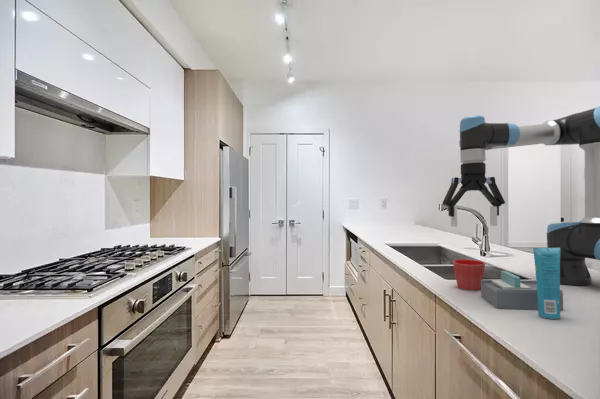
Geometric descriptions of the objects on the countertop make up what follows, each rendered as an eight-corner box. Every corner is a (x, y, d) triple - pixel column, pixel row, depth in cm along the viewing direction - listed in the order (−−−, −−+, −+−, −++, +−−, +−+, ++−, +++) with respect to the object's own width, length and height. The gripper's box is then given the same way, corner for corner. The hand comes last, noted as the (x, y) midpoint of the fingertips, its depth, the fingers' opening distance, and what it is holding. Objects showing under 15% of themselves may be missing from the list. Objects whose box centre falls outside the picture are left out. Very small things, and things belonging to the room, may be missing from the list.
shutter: (515, 282, 113) (515, 271, 113) (531, 290, 103) (530, 277, 103) (491, 282, 114) (491, 270, 114) (504, 289, 104) (504, 277, 104)
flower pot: (491, 291, 122) (491, 264, 123) (461, 291, 123) (460, 264, 123) (477, 284, 133) (476, 259, 133) (448, 284, 133) (448, 259, 133)
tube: (554, 313, 98) (552, 246, 98) (568, 318, 93) (567, 248, 93) (529, 314, 97) (528, 247, 98) (543, 320, 93) (541, 249, 93)
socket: (539, 297, 113) (538, 280, 113) (563, 310, 100) (562, 290, 100) (481, 296, 116) (480, 279, 116) (497, 308, 103) (496, 289, 103)
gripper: (501, 163, 119) (502, 224, 119) (431, 164, 118) (432, 226, 118) (516, 161, 112) (517, 226, 112) (441, 162, 111) (442, 227, 111)
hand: (474, 226), depth 115 cm, fingers open, 13 cm apart
